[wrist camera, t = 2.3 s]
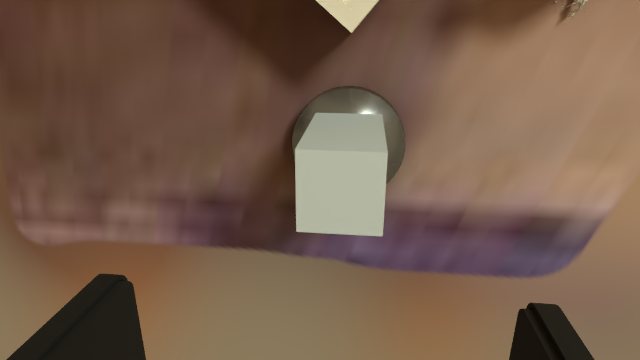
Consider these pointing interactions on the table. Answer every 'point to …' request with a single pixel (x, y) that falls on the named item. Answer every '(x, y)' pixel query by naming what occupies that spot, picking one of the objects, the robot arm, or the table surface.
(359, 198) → the strut
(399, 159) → the grey round domed disc
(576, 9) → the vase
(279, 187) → the table surface
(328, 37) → the table surface
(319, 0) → the dish
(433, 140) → the table surface
